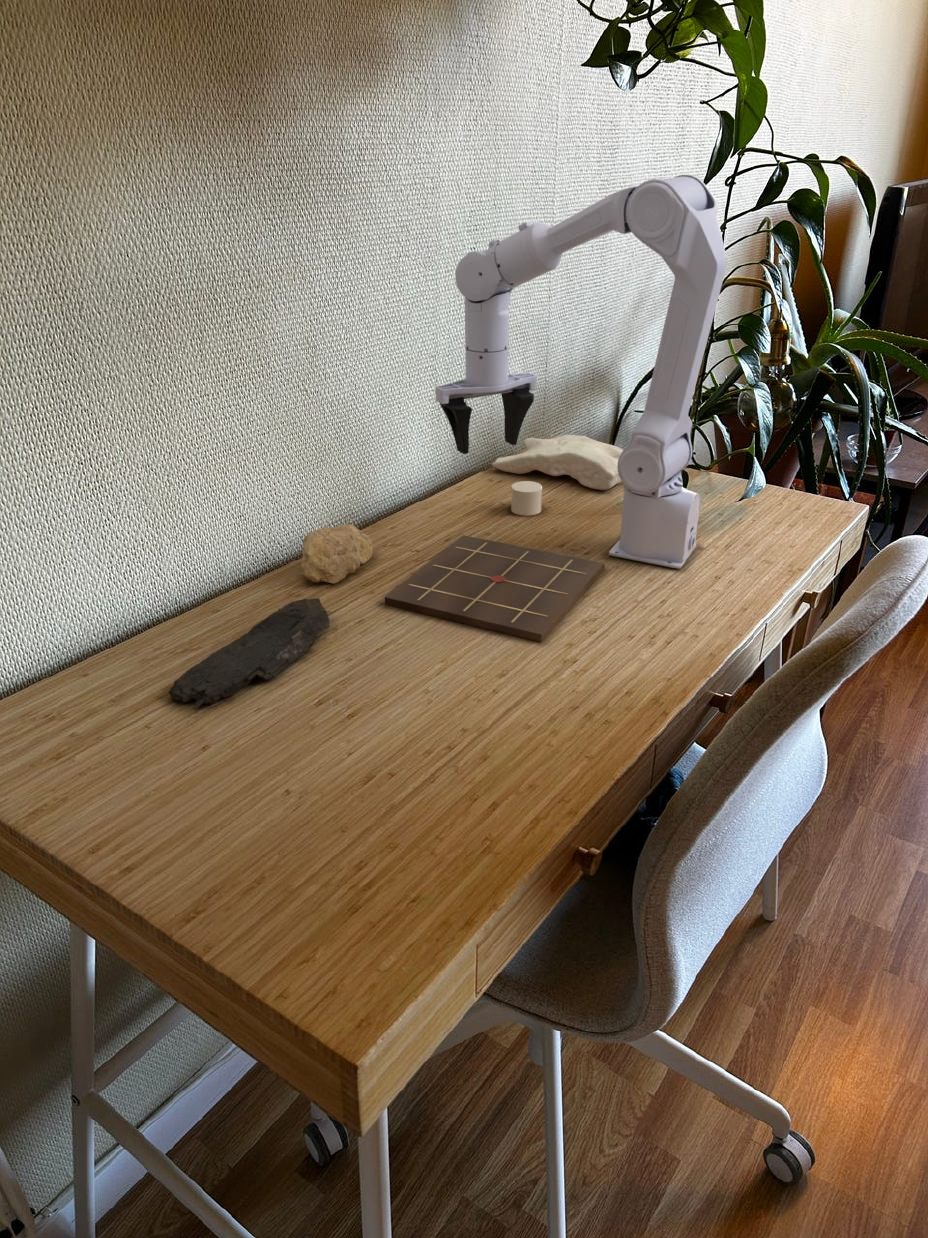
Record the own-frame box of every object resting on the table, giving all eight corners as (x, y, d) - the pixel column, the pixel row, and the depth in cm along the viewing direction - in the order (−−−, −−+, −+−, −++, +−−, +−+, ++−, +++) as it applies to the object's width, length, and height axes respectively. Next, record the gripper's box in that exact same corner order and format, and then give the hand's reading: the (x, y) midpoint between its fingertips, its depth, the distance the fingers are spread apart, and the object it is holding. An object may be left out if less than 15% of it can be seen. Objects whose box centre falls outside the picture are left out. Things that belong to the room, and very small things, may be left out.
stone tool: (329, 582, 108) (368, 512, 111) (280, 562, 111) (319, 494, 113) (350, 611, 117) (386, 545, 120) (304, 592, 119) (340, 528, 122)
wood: (219, 722, 87) (214, 695, 85) (163, 700, 90) (158, 674, 89) (357, 623, 104) (355, 599, 102) (306, 608, 107) (303, 584, 105)
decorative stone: (650, 438, 146) (615, 461, 135) (647, 469, 148) (612, 494, 137) (531, 420, 156) (488, 440, 144) (530, 450, 158) (487, 471, 147)
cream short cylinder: (546, 507, 133) (546, 483, 131) (534, 517, 130) (534, 493, 128) (518, 502, 135) (519, 479, 133) (506, 512, 132) (506, 488, 130)
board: (604, 570, 115) (604, 562, 114) (541, 642, 99) (541, 633, 99) (463, 541, 123) (463, 534, 122) (384, 604, 107) (384, 596, 107)
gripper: (519, 336, 126) (517, 431, 133) (424, 348, 121) (427, 447, 127) (546, 345, 121) (543, 445, 127) (447, 358, 115) (450, 462, 122)
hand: (487, 447), depth 127 cm, fingers open, 7 cm apart
